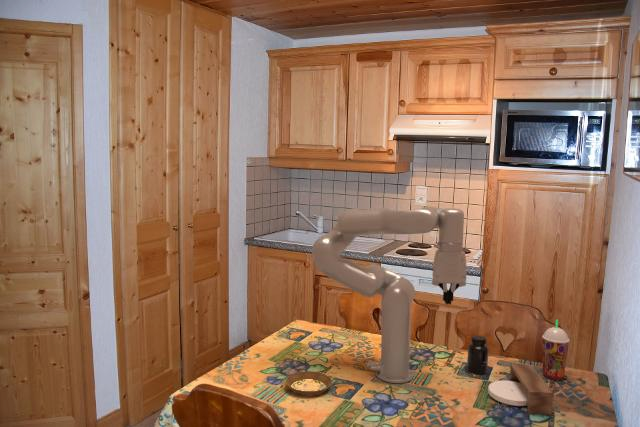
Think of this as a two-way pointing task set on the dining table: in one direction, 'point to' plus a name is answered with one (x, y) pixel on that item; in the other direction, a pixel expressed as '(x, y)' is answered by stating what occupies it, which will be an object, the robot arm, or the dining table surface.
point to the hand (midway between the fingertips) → (447, 303)
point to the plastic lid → (508, 392)
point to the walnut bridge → (533, 388)
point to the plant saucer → (309, 375)
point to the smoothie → (555, 352)
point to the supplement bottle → (477, 355)
